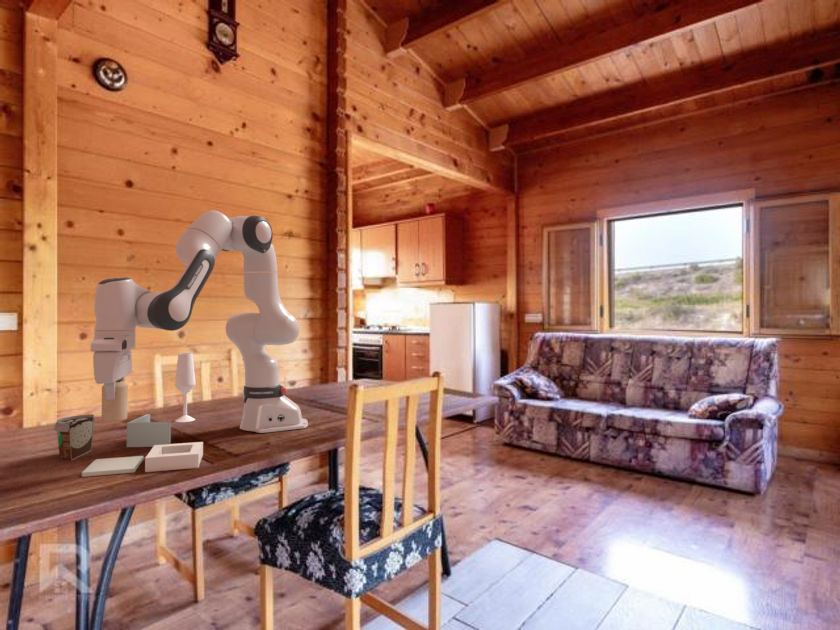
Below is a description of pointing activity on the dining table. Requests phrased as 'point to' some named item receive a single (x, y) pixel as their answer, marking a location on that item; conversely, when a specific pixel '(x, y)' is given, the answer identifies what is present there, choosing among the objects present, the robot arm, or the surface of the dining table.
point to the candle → (115, 403)
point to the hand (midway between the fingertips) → (114, 396)
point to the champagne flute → (185, 381)
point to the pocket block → (174, 456)
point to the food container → (74, 436)
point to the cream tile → (113, 466)
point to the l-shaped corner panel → (147, 432)
